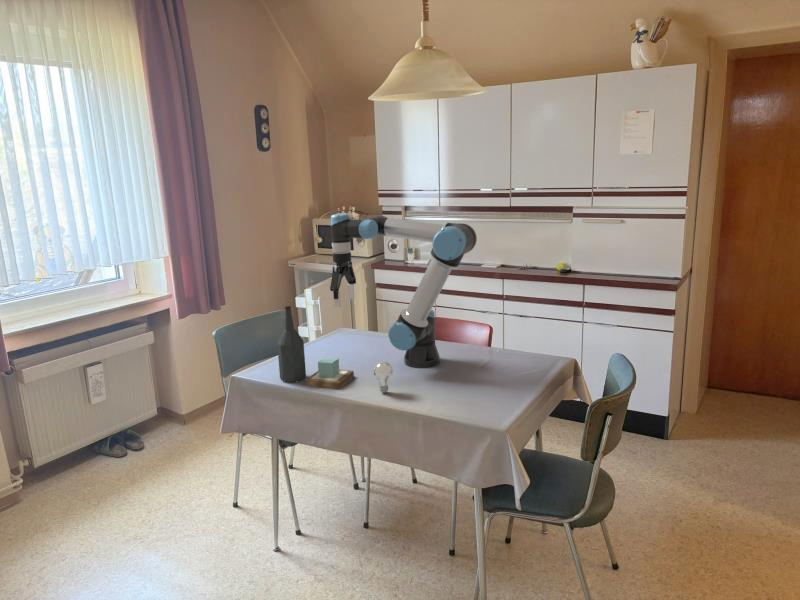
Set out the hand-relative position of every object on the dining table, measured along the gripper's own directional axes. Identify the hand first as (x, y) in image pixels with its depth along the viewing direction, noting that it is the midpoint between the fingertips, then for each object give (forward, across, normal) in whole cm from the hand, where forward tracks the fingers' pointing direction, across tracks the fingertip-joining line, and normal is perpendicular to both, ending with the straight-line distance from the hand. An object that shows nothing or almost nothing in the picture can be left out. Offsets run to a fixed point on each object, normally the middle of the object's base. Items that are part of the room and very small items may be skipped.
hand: (344, 302), depth 254 cm
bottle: (+27, +22, -14) cm, 37 cm away
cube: (+24, +21, +2) cm, 32 cm away
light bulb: (+27, +27, +27) cm, 47 cm away
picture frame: (+27, +21, +2) cm, 34 cm away
